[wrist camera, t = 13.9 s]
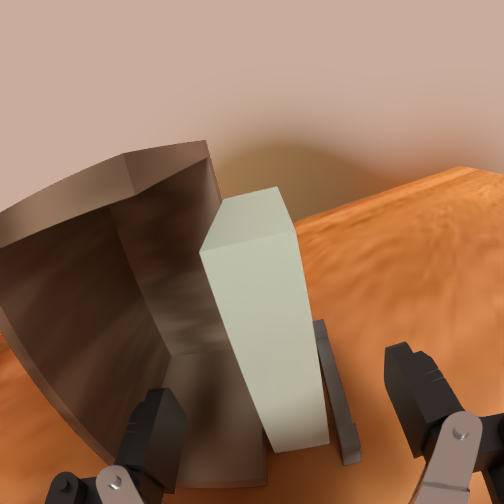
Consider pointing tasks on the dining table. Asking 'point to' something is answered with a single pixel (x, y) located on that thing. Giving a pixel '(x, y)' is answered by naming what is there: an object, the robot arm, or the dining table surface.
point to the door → (268, 315)
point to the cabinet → (138, 312)
